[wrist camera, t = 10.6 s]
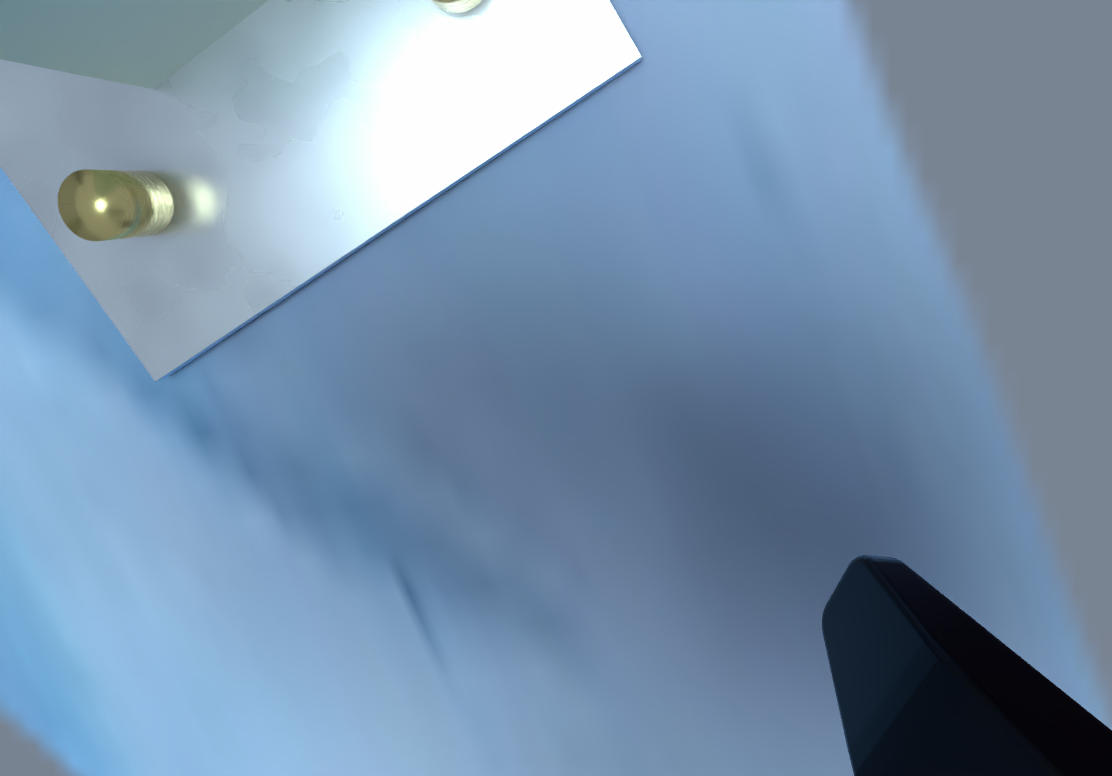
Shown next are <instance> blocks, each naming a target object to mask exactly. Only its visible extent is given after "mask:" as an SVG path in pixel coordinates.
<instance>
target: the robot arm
mask: <svg viewBox="0 0 1112 776" xmlns="http://www.w3.org/2000/svg"><path fill="white" fill-rule="evenodd" d="M822 630H823V636H824V641H825V645H826V650H827V655H828V659H829V664H830V669H831V673H832V678H833V683H834V687H835V692H836V697H837V701H838V706H839V710H840V715H841V720H842V724H843V729H844V734H845V738H846V743H847V748H848V752H849V756H850V760H851V764H852V768H853V772H854V776H1112V730H1110V729H1109V728H1108V727H1107V726H1105V725H1104V724H1103V723H1102V722H1100V721H1099V720H1098V719H1097V718H1095V717H1094V716H1093V715H1092V714H1091V713H1089V712H1088V711H1087V710H1086V709H1084V708H1083V707H1082V706H1081V705H1079V704H1078V703H1077V702H1076V701H1074V700H1073V699H1072V698H1071V697H1069V696H1068V695H1067V694H1066V693H1064V692H1063V691H1062V690H1061V689H1059V688H1058V687H1057V686H1056V685H1054V684H1053V683H1052V682H1051V681H1050V680H1048V679H1047V678H1046V677H1045V676H1043V675H1042V674H1041V673H1040V672H1038V671H1037V670H1036V669H1035V668H1033V667H1032V666H1031V665H1030V664H1028V663H1027V662H1026V661H1025V660H1023V659H1022V658H1021V657H1020V656H1018V655H1017V654H1016V653H1015V652H1013V651H1012V650H1011V649H1010V648H1008V647H1007V646H1006V645H1005V644H1004V643H1002V642H1001V641H1000V640H999V639H997V638H996V637H995V636H994V635H992V634H991V633H990V632H989V631H987V630H986V629H985V628H984V627H982V626H981V625H980V624H979V623H977V622H976V621H975V620H974V619H972V618H971V617H970V616H969V615H967V614H966V613H965V612H964V611H962V610H961V609H960V608H959V607H958V606H956V605H955V604H954V603H953V602H951V601H950V600H949V599H948V598H946V597H945V596H944V595H943V594H941V593H940V592H939V591H938V590H936V589H935V588H934V587H933V586H931V585H930V584H929V583H928V582H926V581H925V580H924V579H923V578H921V577H920V576H919V575H918V574H917V573H915V572H914V571H913V570H912V569H910V568H909V567H908V566H907V565H905V564H904V563H903V562H901V561H900V560H898V559H895V558H891V557H880V556H868V555H863V556H858V557H857V558H855V559H854V560H853V561H851V563H850V564H849V566H848V568H847V569H846V571H845V573H844V574H843V576H842V578H841V580H840V581H839V583H838V585H837V587H836V588H835V590H834V592H833V594H832V595H831V597H830V599H829V601H828V602H827V604H826V606H825V609H824V612H823V618H822Z"/></svg>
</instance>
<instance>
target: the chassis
mask: <svg viewBox="0 0 1112 776" xmlns="http://www.w3.org/2000/svg"><path fill="white" fill-rule="evenodd" d="M640 61H641V55H640V53H639V52H638V50H637V48H636V47H635V45H634V43H633V41H632V40H631V38H630V36H629V34H628V33H627V31H626V29H625V27H624V26H623V24H622V22H621V20H620V19H619V17H618V15H617V13H616V12H615V10H614V8H613V6H612V5H611V3H610V1H609V0H269V1H267V2H266V3H265V4H263V5H262V6H261V7H260V8H258V9H257V10H256V11H254V12H253V13H252V14H250V15H249V16H248V17H247V18H245V19H244V20H243V21H241V22H240V23H239V24H237V25H236V26H235V27H234V28H232V29H231V30H230V31H228V32H227V33H226V34H224V35H223V36H222V37H221V38H219V39H218V40H217V41H215V42H214V43H213V44H211V45H210V46H209V47H208V48H206V49H205V50H204V51H202V52H201V53H200V54H198V55H197V56H196V57H195V58H193V59H192V60H191V61H189V62H188V63H187V64H185V65H184V66H183V67H181V68H180V69H179V70H178V71H176V72H175V73H174V74H172V75H171V76H170V77H168V78H167V79H166V80H165V81H163V82H162V83H161V84H159V85H158V86H157V87H155V88H154V89H148V88H143V87H138V86H133V85H128V84H123V83H118V82H113V81H108V80H103V79H98V78H93V77H87V76H82V75H77V74H72V73H67V72H62V71H57V70H52V69H47V68H42V67H37V66H32V65H27V64H22V63H17V62H12V61H7V60H2V59H0V166H1V168H2V169H3V171H4V172H5V173H6V175H7V176H8V178H9V179H10V180H11V182H12V183H13V184H14V186H15V187H16V189H17V190H18V191H19V193H20V194H21V196H22V197H23V198H24V200H25V201H26V203H27V204H28V205H29V207H30V208H31V209H32V211H33V212H34V214H35V215H36V216H37V218H38V219H39V221H40V222H41V223H42V225H43V226H44V228H45V229H46V230H47V232H48V233H49V235H50V236H51V237H52V239H53V240H54V241H55V243H56V244H57V246H58V247H59V248H60V250H61V251H62V253H63V254H64V255H65V257H66V258H67V260H68V261H69V262H70V264H71V265H72V266H73V268H74V269H75V271H76V272H77V273H78V275H79V276H80V278H81V279H82V280H83V282H84V283H85V285H86V286H87V287H88V289H89V290H90V291H91V293H92V294H93V296H94V297H95V298H96V300H97V301H98V303H99V304H100V305H101V307H102V308H103V310H104V311H105V312H106V314H107V315H108V317H109V318H110V319H111V321H112V322H113V323H114V325H115V326H116V328H117V329H118V330H119V332H120V333H121V335H122V336H123V337H124V339H125V340H126V342H127V343H128V344H129V346H130V347H131V348H132V350H133V351H134V353H135V354H136V355H137V357H138V358H139V360H140V361H141V362H142V364H143V365H144V367H145V368H146V369H147V371H148V372H149V373H150V375H151V376H152V378H153V379H154V380H155V382H156V381H158V380H161V379H163V378H166V377H168V376H170V375H172V374H173V373H175V372H176V371H178V370H179V369H181V368H182V367H184V366H185V365H187V364H188V363H190V362H191V361H193V360H194V359H196V358H197V357H199V356H200V355H202V354H203V353H205V352H206V351H208V350H209V349H211V348H212V347H214V346H215V345H217V344H218V343H220V342H221V341H223V340H224V339H226V338H227V337H229V336H230V335H232V334H233V333H235V332H236V331H238V330H239V329H241V328H242V327H244V326H245V325H247V324H248V323H250V322H251V321H252V320H254V319H255V318H257V317H258V316H260V315H261V314H263V313H264V312H266V311H267V310H269V309H270V308H272V307H273V306H275V305H276V304H278V303H279V302H281V301H282V300H284V299H285V298H287V297H288V296H290V295H291V294H293V293H294V292H296V291H297V290H299V289H300V288H302V287H303V286H305V285H306V284H308V283H309V282H311V281H312V280H314V279H315V278H317V277H318V276H320V275H321V274H323V273H324V272H326V271H327V270H329V269H330V268H332V267H333V266H335V265H336V264H338V263H339V262H341V261H342V260H344V259H345V258H347V257H348V256H350V255H351V254H353V253H354V252H356V251H357V250H359V249H360V248H362V247H363V246H365V245H366V244H368V243H369V242H371V241H372V240H374V239H375V238H377V237H378V236H380V235H381V234H383V233H384V232H386V231H387V230H389V229H390V228H392V227H393V226H395V225H396V224H398V223H399V222H401V221H402V220H404V219H405V218H407V217H408V216H410V215H411V214H413V213H414V212H416V211H417V210H419V209H420V208H422V207H423V206H425V205H426V204H428V203H429V202H431V201H432V200H434V199H435V198H437V197H438V196H440V195H441V194H443V193H444V192H446V191H447V190H449V189H450V188H452V187H453V186H455V185H456V184H458V183H459V182H460V181H462V180H463V179H465V178H466V177H468V176H469V175H471V174H472V173H474V172H475V171H477V170H478V169H480V168H481V167H483V166H484V165H486V164H487V163H489V162H490V161H492V160H493V159H495V158H496V157H498V156H499V155H501V154H502V153H504V152H505V151H507V150H508V149H510V148H511V147H513V146H514V145H516V144H517V143H519V142H520V141H522V140H523V139H525V138H526V137H528V136H529V135H531V134H532V133H534V132H535V131H537V130H538V129H540V128H541V127H543V126H544V125H546V124H547V123H549V122H550V121H552V120H553V119H555V118H556V117H558V116H559V115H561V114H562V113H564V112H565V111H567V110H568V109H570V108H571V107H573V106H574V105H576V104H577V103H579V102H580V101H582V100H583V99H585V98H586V97H588V96H589V95H591V94H592V93H594V92H595V91H597V90H598V89H600V88H601V87H603V86H604V85H606V84H607V83H609V82H610V81H612V80H613V79H615V78H616V77H618V76H619V75H621V74H622V73H624V72H625V71H627V70H628V69H630V68H631V67H633V66H634V65H636V64H637V63H639V62H640Z"/></svg>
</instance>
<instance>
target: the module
mask: <svg viewBox="0 0 1112 776" xmlns="http://www.w3.org/2000/svg"><path fill="white" fill-rule="evenodd" d="M267 1H269V0H0V59H2V60H7V61H12V62H17V63H22V64H27V65H32V66H37V67H42V68H47V69H52V70H57V71H62V72H67V73H72V74H77V75H82V76H87V77H93V78H98V79H103V80H108V81H113V82H118V83H123V84H128V85H133V86H138V87H143V88H148V89H154V88H155V87H157V86H158V85H159V84H161V83H162V82H163V81H165V80H166V79H167V78H168V77H170V76H171V75H172V74H174V73H175V72H176V71H178V70H179V69H180V68H181V67H183V66H184V65H185V64H187V63H188V62H189V61H191V60H192V59H193V58H195V57H196V56H197V55H198V54H200V53H201V52H202V51H204V50H205V49H206V48H208V47H209V46H210V45H211V44H213V43H214V42H215V41H217V40H218V39H219V38H221V37H222V36H223V35H224V34H226V33H227V32H228V31H230V30H231V29H232V28H234V27H235V26H236V25H237V24H239V23H240V22H241V21H243V20H244V19H245V18H247V17H248V16H249V15H250V14H252V13H253V12H254V11H256V10H257V9H258V8H260V7H261V6H262V5H263V4H265V3H266V2H267Z"/></svg>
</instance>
